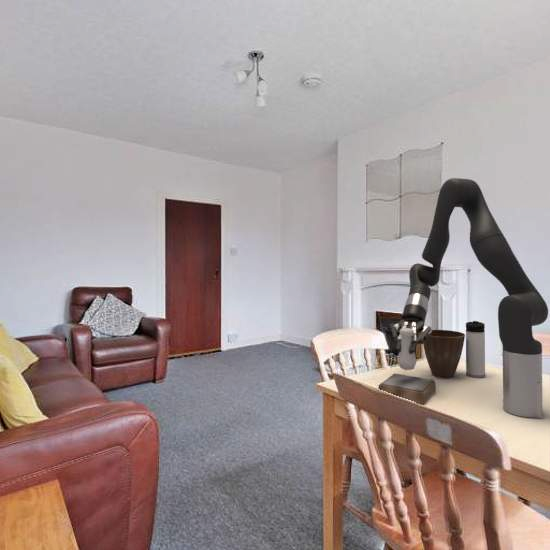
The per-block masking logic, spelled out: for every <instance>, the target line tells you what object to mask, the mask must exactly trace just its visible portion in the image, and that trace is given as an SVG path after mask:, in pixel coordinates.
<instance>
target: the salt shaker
mask: <svg viewBox="0 0 550 550" xmlns="http://www.w3.org/2000/svg"><path fill="white" fill-rule="evenodd" d="M399 335H401V336H402V339H401V352H400V353H399V352H398V355H397V362H398V365H399V368H400V369H402V370H404V371H407V370H408V371H411V370H414V369H415V367H416V364H417V358H416V356H417V355H416V351H415V352H414V353H413V354H410V353H409V347H410V344H411V341H412V336H413V335H414V331H413V330H412V329H410V328H402V329H401V328H400V329H399Z"/></svg>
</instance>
